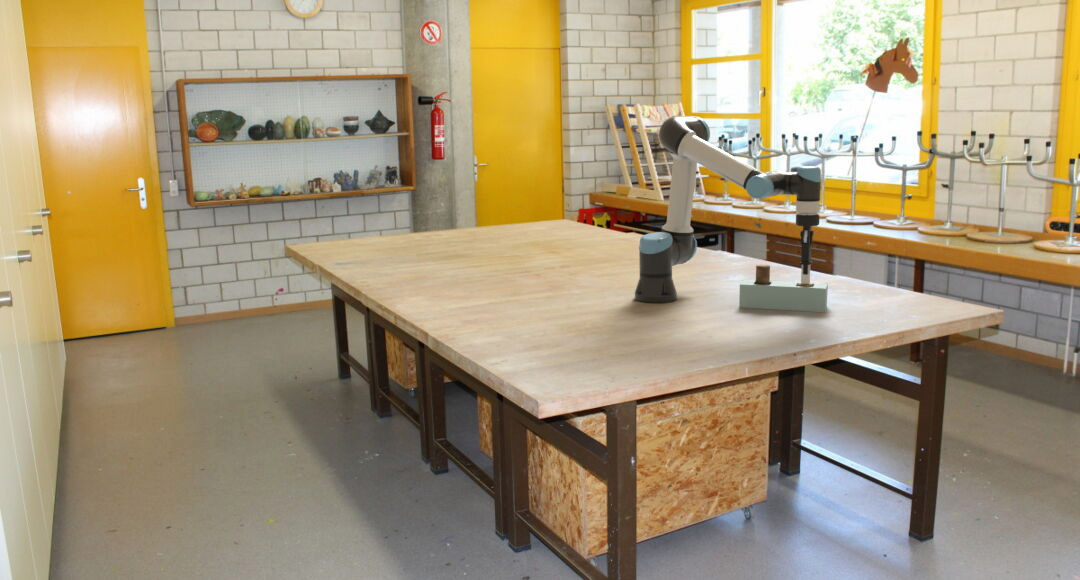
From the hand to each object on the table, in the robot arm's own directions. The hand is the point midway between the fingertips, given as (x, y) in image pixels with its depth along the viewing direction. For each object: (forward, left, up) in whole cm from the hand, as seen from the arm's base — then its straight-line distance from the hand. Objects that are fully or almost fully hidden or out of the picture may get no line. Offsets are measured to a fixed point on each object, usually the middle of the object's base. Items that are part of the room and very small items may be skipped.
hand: (805, 283), depth 300 cm
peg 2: (0, 0, -8) cm, 8 cm away
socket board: (-7, 0, -9) cm, 11 cm away
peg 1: (-14, 0, -3) cm, 14 cm away
